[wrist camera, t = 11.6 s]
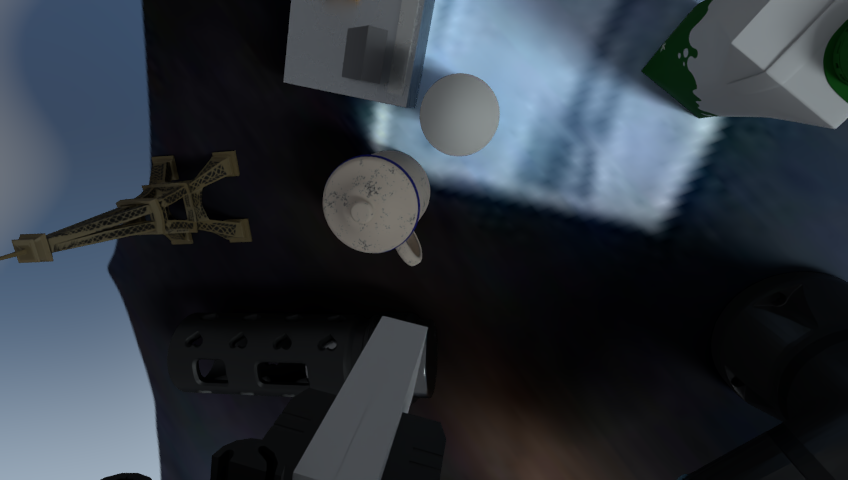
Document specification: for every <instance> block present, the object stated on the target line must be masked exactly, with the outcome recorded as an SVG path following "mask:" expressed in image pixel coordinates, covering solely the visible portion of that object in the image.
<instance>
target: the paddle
mask: <svg viewBox="0 0 848 480" xmlns="http://www.w3.org/2000/svg"><path fill="white" fill-rule="evenodd" d="M387 35H388V30H384V29H381V28H377V27H373V26H370V25H367V26H361V27H354V28H348V31H347V39H346V47H345V54H344V62H343V69H342V77H344V78H349V79H354V80H359V81H365V82H370V83H376V84H380V80H381V74H382V67H383V61H384V54H385V48H386V42H387Z"/></svg>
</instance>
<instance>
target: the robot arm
mask: <svg viewBox="0 0 848 480" xmlns="http://www.w3.org/2000/svg"><path fill="white" fill-rule="evenodd" d="M427 330H428V327H425V326H421V325H417V324H413V323H409V322H405V321H401V320H397V319H394V318H390V317H386V316H382V318H381V320H380V321H379V323H378V325H377V327H376V328H375V330H374V332H373V334H372V335H371V337H370V339H369V341H368V342H367V344H366V346H365V348H364V349H363V351H362V353H361V355H360V356H359V358H358V360H357V362H356V363H355V365H354V367H353V369H352V370H351V372H350V374H349V376H348V377H347V379H346V381H345V383H344V384H343V386H342V388H341V390H340V391H339V393H338V395H334V394H330V393H327V392H323V391H319V390H316V389H312V388H307V389H306V390H304V391H303V392H301V393H299V394H298V395H296V396H294V397H293V398H292V399H291V401H290V402H289V403H288V405H287V406H286V408H285V409H284V410H283V412H282V415H281V414H280V416H279V417H278V419H277V420H276V421H275V423H274V425H273V426H272V427H271V428H270V430H269V431H268V432H267V434H266V435H265V437H264V438H263V439H262V440H260V439H253V438H250V439H243V440H237V441H234V442H232V443H230V444H227V445H225V446H223V447H222V448H221V449H219V450H218V451H217V452H216V453H215V454H213V455H212V464H211V479H210V480H440V474H441V467H442V461H443V455H444V449H445V442H446V438H445V435H444V432H443V429H442V426H441V423H440V422H436V421H433V420H429V419H426V418H422V417H418V416H415V415H411V414H408V411H409V407H410V404H411V401H412V397H413V393H414V388H415V384H416V379H417V375H418V370H419V366H420V361H421V357H422V352H423V348H424V343H425V339H426V334H427ZM711 353H712V358H713V361H714V364H715V367H716V369H717V371H718V372H719V374H720V375H721V377H722V378H723V379H724V380H725V382H726V383H727V384H728V385H729V386H730V387H731V389H732V390H733V391H734V392H735V393H736V394H737V395H738V396H739V397H741V398H742V399H743V400H744V401H746V402H747V403H749V404H750V405H752V406H754V407H756V408H758V409H760V410H761V411H763V412H765V413H767V414H769V415H771V416H773V417H775V418H777V419H779V420H781V421H782V422H783V423H781V424H779V425H778V426H776V427H774V428H772V429H771V430H769V431H766V432H764V433H763V434H761V435H759V436H757V437H755V438H754V439H752V440H750V441H748V442H746V443H745V444H743V445H741V446H739V447H737V448H735V449H734V450H732V451H730V452H728V453H726V454H725V455H723V456H721V457H719V458H717V459H716V460H714V461H712V462H710V463H708V464H707V465H705V466H703V467H701V468H699V469H698V470H696V471H694V472H692V473H690V474H684V475H682V476H680V477H679V478H678V479H677V480H848V282H846V281H844V280H842V279H839V278H837V277H834V276H831V275H827V274H822V273H816V272H792V273H785V274H780V275H776V276H773V277H769V278H767V279H764V280H762V281H759V282H757V283H755V284H753V285H751V286H750V287H748V288H747V289H745V290H744V291H742V292H741V293H739V294H738V295H737V296H736V297H735V298H734V299H733V300H732V301H731V302H730V303H729V304H728V305H727V306H726V307H725V309H724V310H723V311H722V313H721V314H720V316H719V318H718V320H717V322H716V324H715V327H714V330H713V333H712V339H711ZM101 480H152V479H151V478H150V477H147V476H144V475H142V474H139V473H121V474H117V475H113V476H109V477H105V478H103V479H101Z"/></svg>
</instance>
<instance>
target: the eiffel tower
mask: <svg viewBox="0 0 848 480" xmlns="http://www.w3.org/2000/svg"><path fill="white" fill-rule="evenodd" d="M212 155H213V157H211V159H210V160H209V162H208V163H207V164H206V165H205V167H204V168H203V169H202V170H201V172H200V173H199V174H198V175H197V177H196V178H195V179H193V180H189V181H179V182H171V181H172V180H178V179H179V176H178V172H177V167H176V163H175V158H174V156H161V157H151V158H152V162H153V166H152V171H151V176H150V182H149V185H144V186H142V188H143V192H142V193H141V194H140V195H139V196H137V197H136V198H134V199H126V200H120V201H118V202H117V203H116V205H117V207H118V208H116V209H113V210H111V211H108V212H106V213H103V214H100V215H98V216H95V217H93V218H90V219H87V220H85V221H82V222H79V223H77V224H74V225H72V226H69V227H66V228H64V229H61V230H58V231H56V232H53V233H51V234H48V235H45V234H21V235H20V237H19V239H18V240H12V243H13V246H14V249H15V252H13V253H10V254H7V255H4V256H1V257H0V260H4V259H8V258H11V257H16V256H17V258H18V261H19V263H28V262H45V261H53V256H52V253H53V252H57V251H62V250H67V249H71V248H76V247H81V246H85V245H90V244H95V243H99V242H104V241H108V240H113V239H118V238H122V237H127V236H131V235H145V234H164V235H165V236H166V237H167V238H169V239H170V240H171V243H172V244H193V240H192V235H191V232H198V230H203V231H209V232H214V233H216V234H218V235H220V236H222V237H224V238H226V239H228V240H230V242H251V241H252V237H251V232H250V227H249V221H248V219H228V220H224V221H217V220H209V218H208V217H207V215H206V213H205V211H204V209H203V206H202V189H203V187H205V186H207V185H209V184H211V183H213V182H215V181H217V180H219V179H221V178H223V177H229V176H239V175H240V173H239V167H238V162H237V157H236V151H228V152H214V153H212ZM182 197H183V200H184V205H185V209H186V214H187V218H188V219H187V220H176V219H175V218H174V216H173V215H172V214H171V213H170V211H169V207H168V206H169V205H170V204H172V203H174V202H176V201H177V200H179V199H181V198H182ZM148 214H150V216H151V220H152V221H146V219H145V215H148ZM122 223H123V224H122ZM119 224H120V225H119Z"/></svg>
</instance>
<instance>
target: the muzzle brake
mask: <svg viewBox="0 0 848 480" xmlns="http://www.w3.org/2000/svg"><path fill="white" fill-rule="evenodd" d="M382 316H386V317H390V318H394V319H397V320H401V321H405V322H409V323H413V324H417V325H421V326H425V327H428V330H427V334H426V339H425V343H424V348H423V352H422V357H421V361H420V366H419V370H418V375H417V379H416V384H415V388H414V393H413V397H412V401H411V404H412V403H414V402H415V401H417V399H418V398H431V397H432V395H433V393H434V389H435V383H436V375H437V333H436V327H435V324H434V321H433V320H425V319H420V318H419V316H417V315H416V314H414V313H411V312H380V313H378V314H375V315H373V316H372V317H371V318H370V319H366V318H365V317H364V316H362V315H359V314H274V313H194V314H191V315H190V316H188V317H187V318H185V319H184V320H183V321H182V322H181V323H180V324H179V326H178V327H177V329H176V330H175V332H174V334H173V336H172V339H171V341H170V345H169V349H168V356H167V365H168V371H169V375H170V378H171V380H172V382H173V384H174V385H175V386H176V387H177V388H178V389H179V390H181V391H183V392H193V393H216V394H238V395H260V396H282V397H294V396H296V395H298V394H299V393H301V392H303V391H304V390H306V389H307V388H312V389H316V390H319V391H323V392H327V393H330V394H334V395H338V393H339V391H340V390H341V388H342V386H343V384H344V383H345V381H346V379H347V377H348V376H349V374H350V372H351V370H352V369H353V367H354V365H355V363H356V362H357V360H358V358H359V356H360V355H361V353H362V351H363V349H364V348H365V346H366V344H367V342H368V341H369V339H370V337H371V335H372V334H373V332H374V330H375V328H376V327H377V325H378V323H379V321H380V320H381V318H382ZM200 337H202V338H203V343H202V344H201V345H199V346H198V345H196V344H194V345H192V343H193V342H194V341H195V340H197V339H198V338H200ZM200 359H212V360H215V362H214V364H213V367H212V369H211V371H210V372H209V373H208V375H207V376H206V377H205V378H204V377H203V376H202V375H201V373H200V370H199V363H198V361H199V360H200ZM268 362H274V363H279V364H278V365H277V366H276V365H275V364H271V365H269V364H268Z"/></svg>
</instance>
